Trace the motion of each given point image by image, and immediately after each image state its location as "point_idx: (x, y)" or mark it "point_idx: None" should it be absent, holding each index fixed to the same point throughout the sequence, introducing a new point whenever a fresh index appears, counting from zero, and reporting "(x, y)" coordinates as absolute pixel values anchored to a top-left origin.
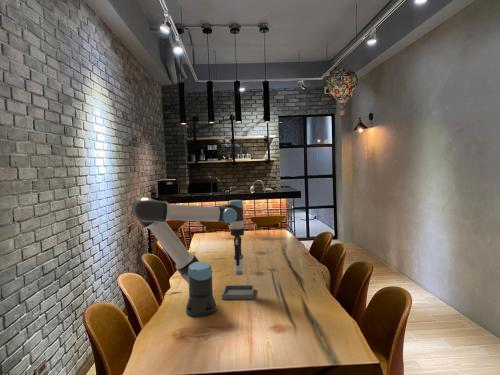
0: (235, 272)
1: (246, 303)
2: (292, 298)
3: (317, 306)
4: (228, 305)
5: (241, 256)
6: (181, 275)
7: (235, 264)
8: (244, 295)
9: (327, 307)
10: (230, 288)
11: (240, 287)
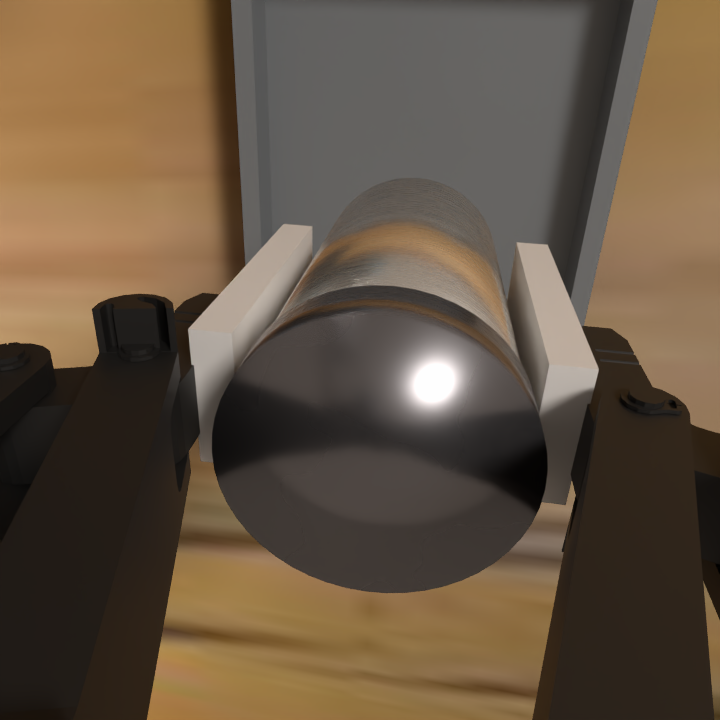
0: (362, 198)
1: (158, 247)
2: (297, 595)
3: (158, 681)
4: (76, 47)
5: (259, 539)
6: None
7: (317, 260)
8: (248, 243)
9: (149, 715)
10: (617, 32)
11: (588, 187)
